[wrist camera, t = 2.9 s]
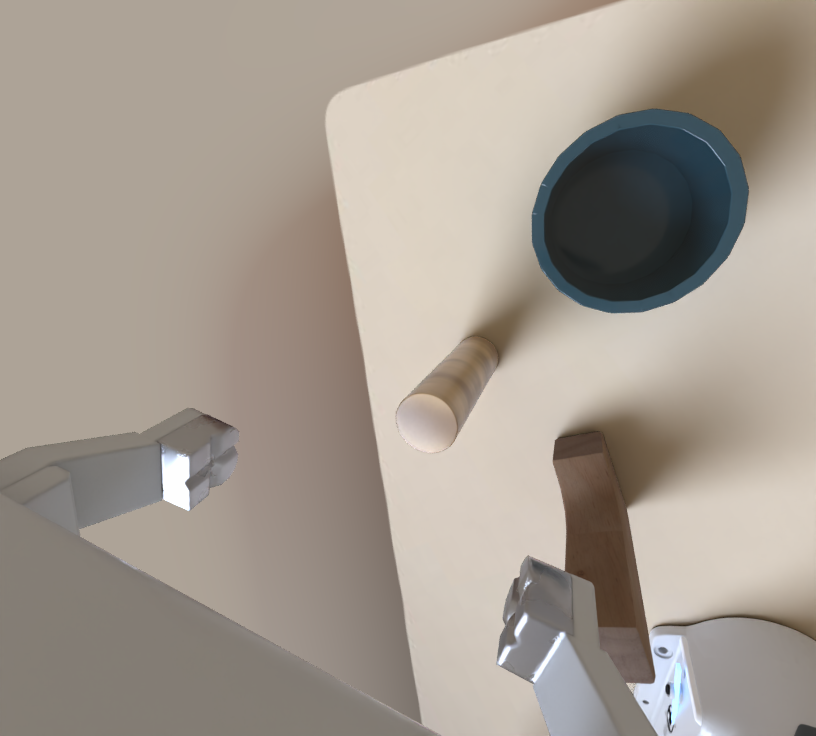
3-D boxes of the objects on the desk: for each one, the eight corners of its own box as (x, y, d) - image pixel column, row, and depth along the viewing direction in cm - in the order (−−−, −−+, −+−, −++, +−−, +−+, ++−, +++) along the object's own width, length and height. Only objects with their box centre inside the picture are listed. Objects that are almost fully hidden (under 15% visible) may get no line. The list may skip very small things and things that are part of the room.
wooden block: (553, 437, 42) (539, 567, 26) (601, 428, 40) (617, 563, 24) (580, 515, 43) (581, 683, 27) (627, 510, 41) (658, 688, 26)
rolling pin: (491, 384, 43) (449, 462, 28) (450, 370, 44) (390, 439, 30) (503, 343, 41) (464, 406, 27) (461, 330, 42) (402, 384, 28)
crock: (662, 307, 35) (691, 334, 26) (525, 272, 38) (510, 286, 29) (730, 155, 31) (792, 127, 22) (569, 130, 34) (566, 96, 25)
